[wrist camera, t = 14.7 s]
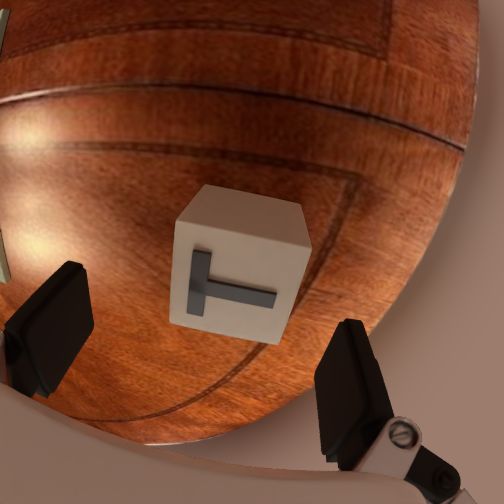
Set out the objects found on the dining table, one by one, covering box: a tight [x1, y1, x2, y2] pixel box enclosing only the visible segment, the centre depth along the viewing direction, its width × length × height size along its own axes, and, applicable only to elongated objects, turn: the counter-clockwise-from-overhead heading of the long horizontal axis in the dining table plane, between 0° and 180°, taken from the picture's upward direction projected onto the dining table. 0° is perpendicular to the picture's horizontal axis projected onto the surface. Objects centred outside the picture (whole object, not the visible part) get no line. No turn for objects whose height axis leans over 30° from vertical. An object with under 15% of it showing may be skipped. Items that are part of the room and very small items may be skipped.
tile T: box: [169, 184, 312, 345], centre depth 14 cm, size 5×5×5 cm
